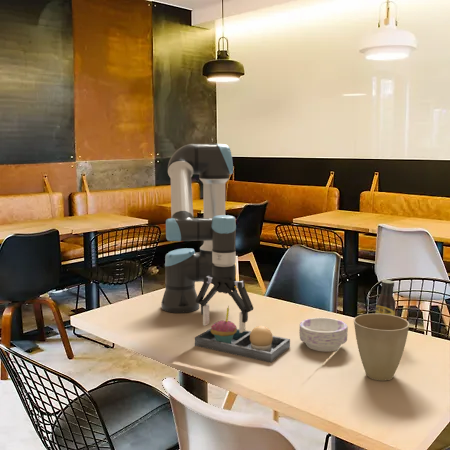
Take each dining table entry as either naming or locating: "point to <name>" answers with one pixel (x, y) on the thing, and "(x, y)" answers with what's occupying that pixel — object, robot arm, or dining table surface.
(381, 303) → the sauce bottle
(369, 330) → the plant pot
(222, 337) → the cupcake
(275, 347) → the divided tray
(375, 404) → the dining table surface
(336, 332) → the paper bowls
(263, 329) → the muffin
